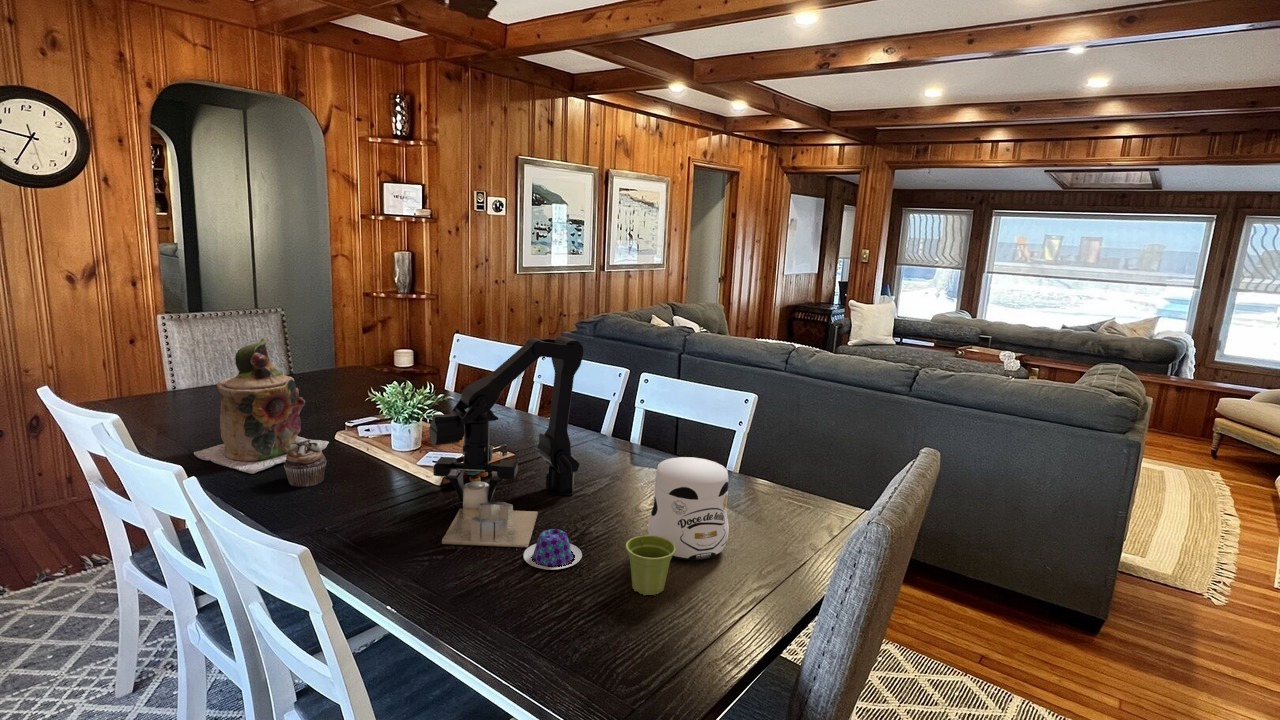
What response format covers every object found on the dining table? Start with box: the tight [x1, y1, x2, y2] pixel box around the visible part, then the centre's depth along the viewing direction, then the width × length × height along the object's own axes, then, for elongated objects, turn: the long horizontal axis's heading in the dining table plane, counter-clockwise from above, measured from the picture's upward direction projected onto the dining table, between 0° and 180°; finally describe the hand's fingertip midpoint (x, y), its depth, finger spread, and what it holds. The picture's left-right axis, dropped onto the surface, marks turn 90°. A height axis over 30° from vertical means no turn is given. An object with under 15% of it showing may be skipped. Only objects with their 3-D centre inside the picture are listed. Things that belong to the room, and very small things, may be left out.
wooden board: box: [441, 500, 539, 548], centre depth 148 cm, size 18×16×4 cm
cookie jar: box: [193, 337, 330, 474], centre depth 182 cm, size 25×25×32 cm
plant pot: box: [625, 534, 676, 596], centre depth 127 cm, size 9×9×9 cm
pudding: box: [523, 528, 583, 571], centre depth 137 cm, size 12×12×5 cm
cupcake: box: [283, 439, 328, 488], centre depth 167 cm, size 10×10×10 cm
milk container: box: [647, 456, 730, 561], centre depth 143 cm, size 17×17×18 cm
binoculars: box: [456, 456, 489, 482], centre depth 175 cm, size 9×11×10 cm
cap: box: [462, 481, 489, 509], centre depth 158 cm, size 6×6×6 cm
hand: (476, 501), depth 159 cm, fingers closed on cap, 6 cm apart
